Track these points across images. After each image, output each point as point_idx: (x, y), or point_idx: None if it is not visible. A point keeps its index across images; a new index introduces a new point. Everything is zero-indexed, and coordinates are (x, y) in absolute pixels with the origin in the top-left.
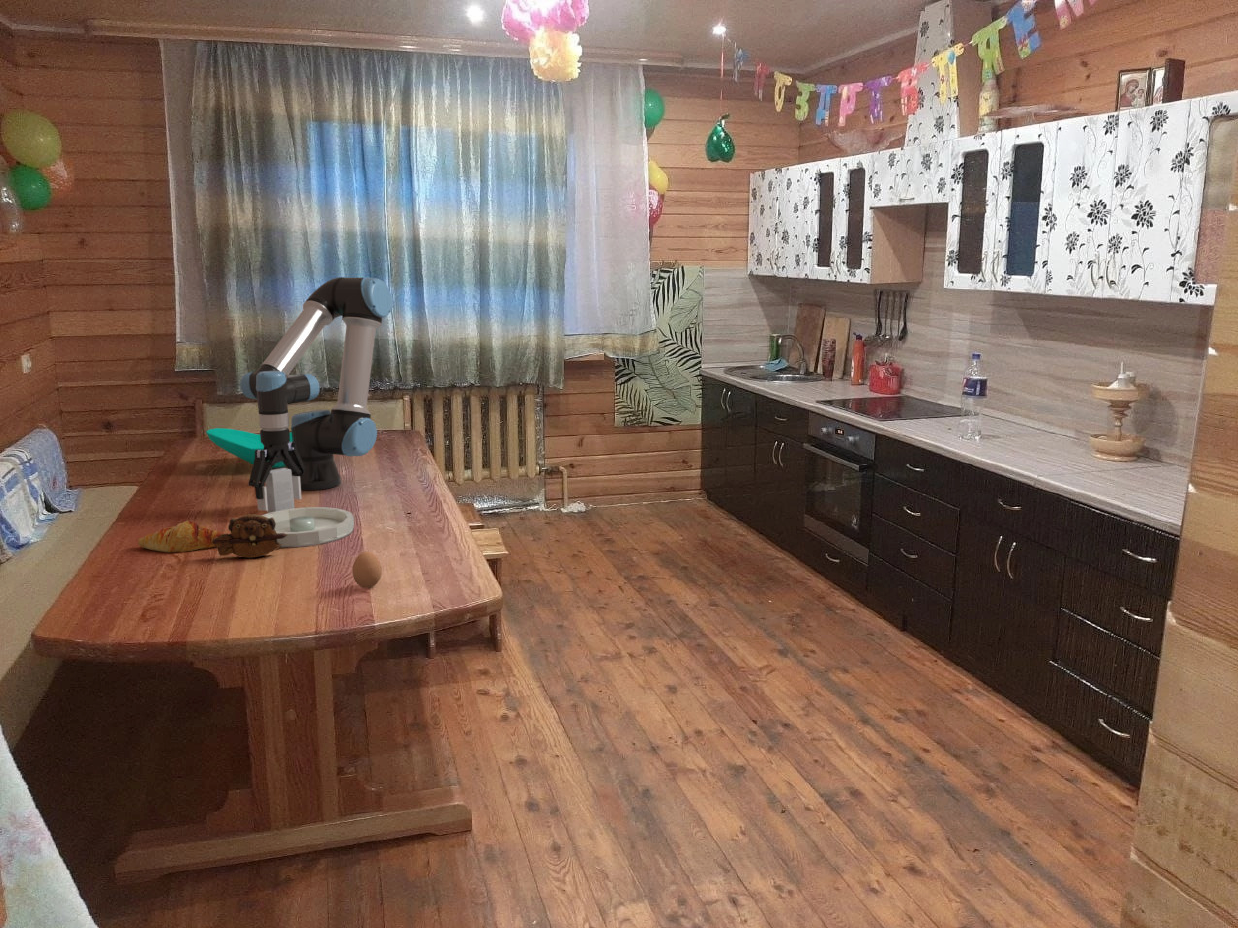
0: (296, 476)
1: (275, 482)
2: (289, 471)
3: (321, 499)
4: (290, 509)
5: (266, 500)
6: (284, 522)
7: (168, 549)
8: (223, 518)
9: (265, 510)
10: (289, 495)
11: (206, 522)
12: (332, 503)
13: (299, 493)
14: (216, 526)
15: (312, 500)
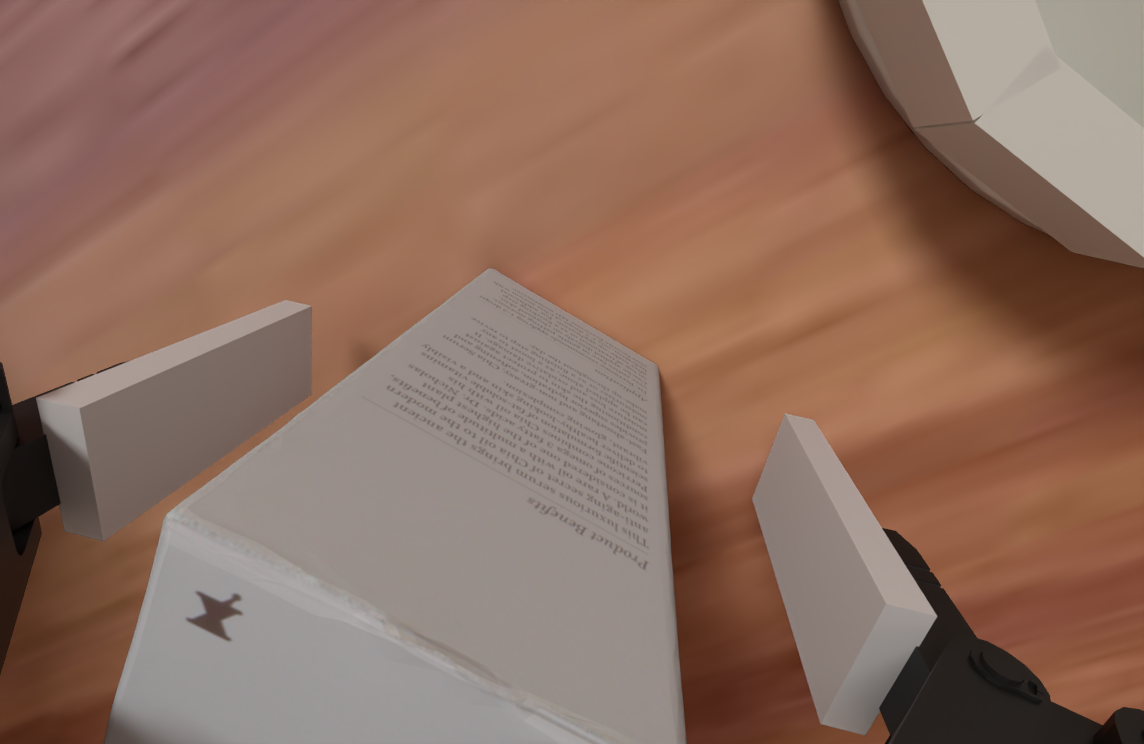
0: (72, 446)
1: (630, 564)
2: (255, 515)
3: (69, 227)
4: (995, 53)
5: (830, 473)
6: (1123, 58)
7: None
8: (774, 680)
9: (813, 427)
10: (484, 338)
11: (886, 734)
12: (125, 30)
13: (268, 323)
14: (1010, 647)
15: (132, 291)
